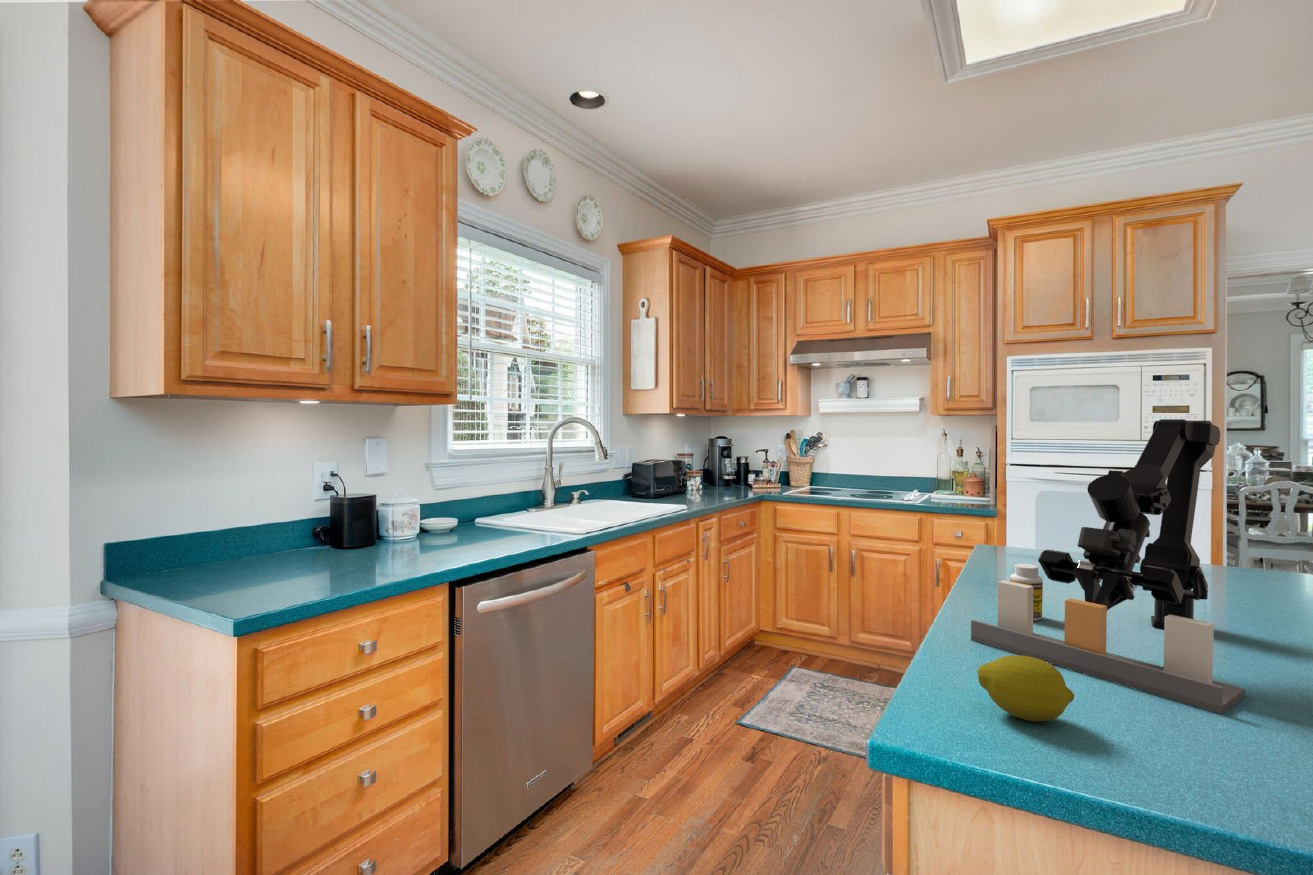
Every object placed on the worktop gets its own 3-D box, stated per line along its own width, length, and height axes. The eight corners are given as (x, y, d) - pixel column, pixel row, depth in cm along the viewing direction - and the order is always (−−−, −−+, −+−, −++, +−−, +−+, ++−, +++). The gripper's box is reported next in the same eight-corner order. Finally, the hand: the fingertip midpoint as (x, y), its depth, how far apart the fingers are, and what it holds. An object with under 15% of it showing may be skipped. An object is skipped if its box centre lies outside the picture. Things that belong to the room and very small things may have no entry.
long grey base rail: (1001, 629, 117) (1001, 610, 117) (1245, 695, 89) (1245, 671, 89) (971, 640, 112) (971, 620, 112) (1220, 714, 83) (1221, 688, 83)
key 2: (1168, 675, 93) (1169, 614, 93) (1212, 687, 89) (1213, 623, 89) (1163, 678, 92) (1164, 616, 92) (1207, 690, 88) (1208, 626, 87)
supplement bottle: (1033, 623, 121) (1034, 570, 120) (1003, 616, 125) (1004, 564, 125) (1047, 618, 124) (1048, 566, 123) (1018, 611, 128) (1019, 561, 128)
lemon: (1077, 719, 82) (1078, 658, 82) (1068, 742, 76) (1069, 676, 76) (986, 695, 89) (986, 639, 89) (971, 715, 83) (971, 655, 83)
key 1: (1003, 630, 113) (1004, 580, 113) (1032, 638, 109) (1033, 586, 109) (997, 632, 112) (998, 581, 112) (1026, 640, 108) (1027, 588, 107)
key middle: (1070, 654, 101) (1070, 598, 101) (1105, 664, 97) (1106, 605, 97) (1064, 656, 100) (1064, 600, 100) (1100, 667, 96) (1101, 608, 96)
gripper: (1044, 502, 110) (1010, 574, 104) (1178, 516, 94) (1146, 601, 88) (1065, 543, 114) (1033, 614, 108) (1196, 562, 99) (1167, 646, 93)
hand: (1089, 618), depth 99 cm, fingers closed, pressing on key middle
